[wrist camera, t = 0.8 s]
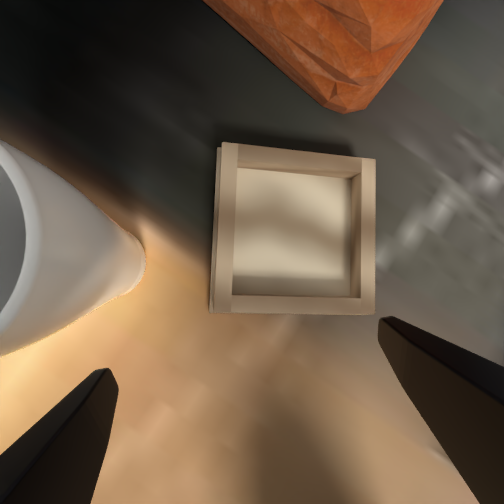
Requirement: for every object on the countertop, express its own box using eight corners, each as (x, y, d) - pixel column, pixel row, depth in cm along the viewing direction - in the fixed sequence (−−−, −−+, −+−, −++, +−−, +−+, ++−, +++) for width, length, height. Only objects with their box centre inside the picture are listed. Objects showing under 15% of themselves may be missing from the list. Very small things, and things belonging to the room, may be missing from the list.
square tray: (361, 313, 23) (378, 318, 21) (209, 311, 21) (209, 316, 19) (362, 167, 24) (378, 156, 22) (217, 151, 22) (218, 137, 20)
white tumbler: (113, 327, 20) (-141, 480, 5) (39, 267, 20) (-464, 256, 5) (176, 258, 21) (107, 229, 6) (108, 200, 21) (-136, 25, 6)
